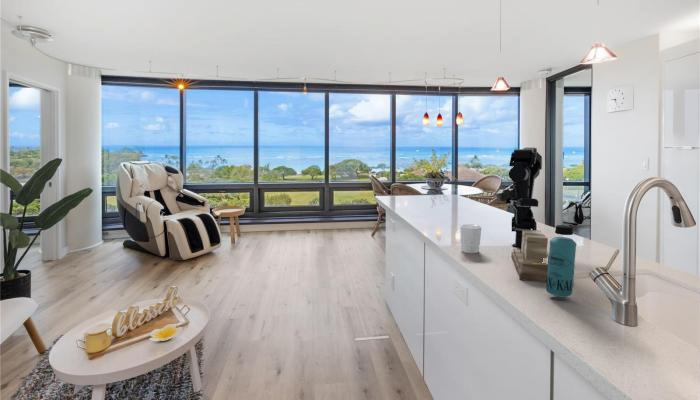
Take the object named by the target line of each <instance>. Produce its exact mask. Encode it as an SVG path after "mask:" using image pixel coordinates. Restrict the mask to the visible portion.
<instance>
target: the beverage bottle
mask: <svg viewBox="0 0 700 400" xmlns="http://www.w3.org/2000/svg"><path fill="white" fill-rule="evenodd" d="M554 233H555V234H556V235H559V236H554V237H553V238H552V239H550V240H549V249H548V250H549V251H548V256H549V258H548V271H547V278H546V282H545V285H546V286H545V291H546V292H547V294H549V295H553V296H556V297H563V298H565V297H571V296H572V295H573V290H574V283H575V281H574V276H575V268H576V264H575V263H576V251H577V243H576V241H575V240H573V238H571V237H567V236H573V235H574V227H573V226H572V225H571V226H570V225H565V224H558V225H556V226H555V229H554ZM560 235H561V236H560ZM565 236H566V237H565Z"/></svg>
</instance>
